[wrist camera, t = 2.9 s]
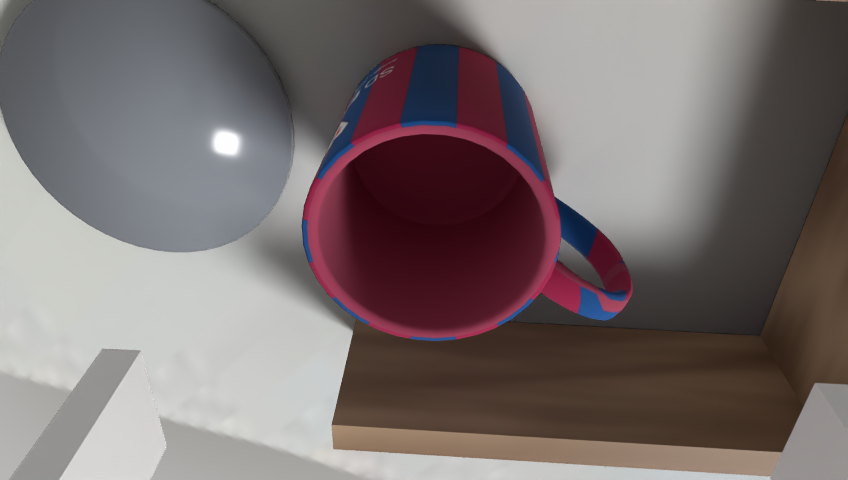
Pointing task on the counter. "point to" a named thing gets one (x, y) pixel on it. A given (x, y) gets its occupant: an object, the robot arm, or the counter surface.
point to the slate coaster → (148, 118)
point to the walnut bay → (616, 377)
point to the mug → (447, 205)
